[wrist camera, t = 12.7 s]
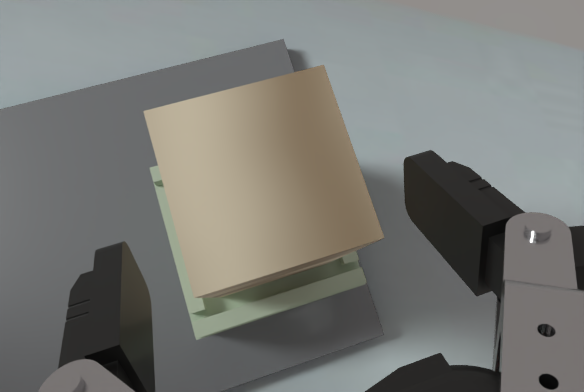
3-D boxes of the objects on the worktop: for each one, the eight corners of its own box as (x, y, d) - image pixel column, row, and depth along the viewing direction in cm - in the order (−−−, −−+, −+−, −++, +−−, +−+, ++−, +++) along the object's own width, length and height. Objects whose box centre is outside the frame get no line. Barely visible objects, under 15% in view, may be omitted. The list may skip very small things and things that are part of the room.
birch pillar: (221, 297, 21) (193, 297, 12) (191, 192, 22) (143, 110, 12) (326, 264, 22) (384, 237, 12) (293, 163, 23) (323, 64, 13)
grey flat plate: (8, 462, 24) (-3, 469, 23) (-55, 132, 27) (-67, 125, 26) (379, 333, 26) (384, 334, 25) (282, 47, 30) (283, 39, 29)
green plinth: (205, 333, 25) (194, 341, 20) (165, 189, 26) (146, 166, 21) (348, 286, 26) (369, 283, 21) (303, 150, 27) (313, 120, 22)
